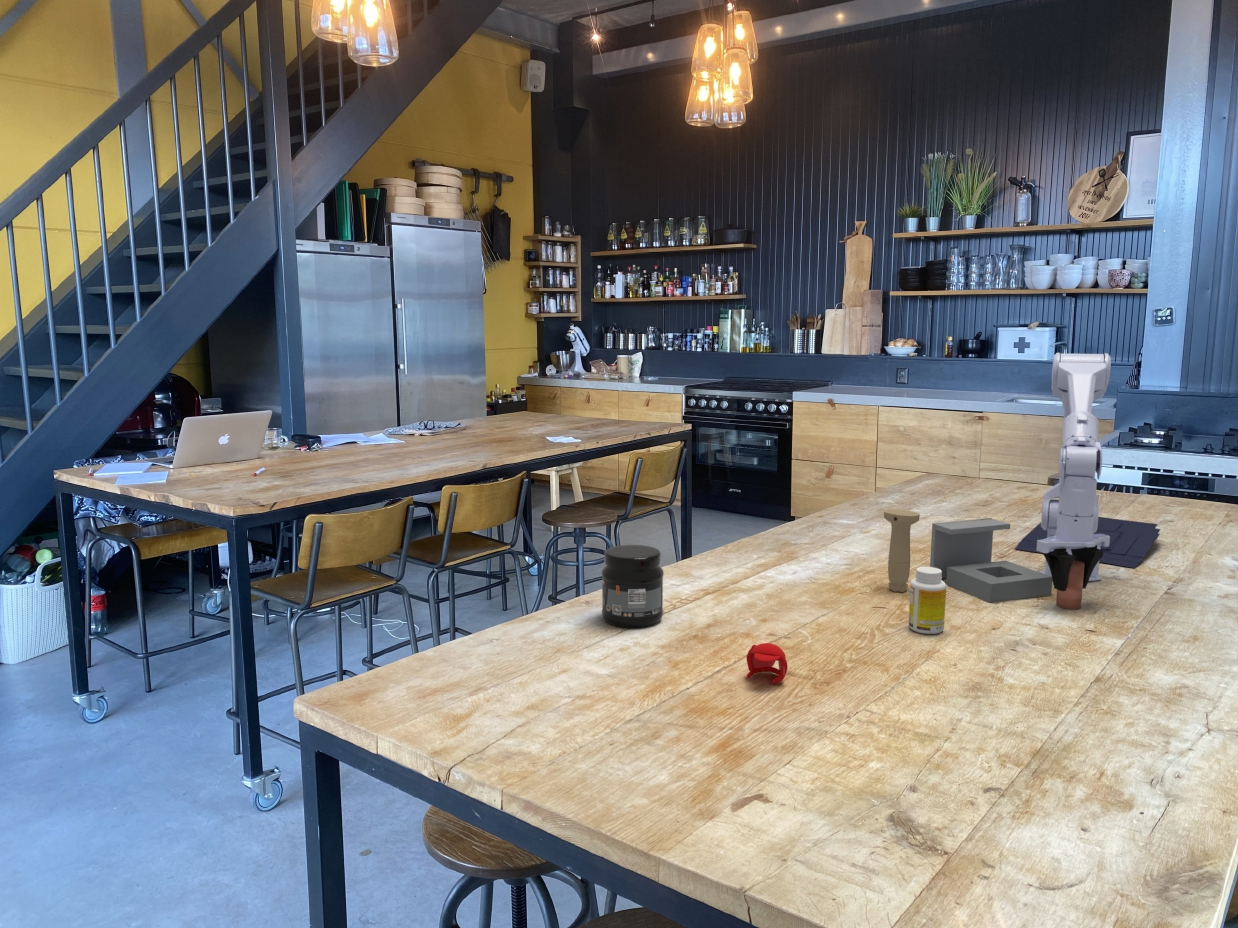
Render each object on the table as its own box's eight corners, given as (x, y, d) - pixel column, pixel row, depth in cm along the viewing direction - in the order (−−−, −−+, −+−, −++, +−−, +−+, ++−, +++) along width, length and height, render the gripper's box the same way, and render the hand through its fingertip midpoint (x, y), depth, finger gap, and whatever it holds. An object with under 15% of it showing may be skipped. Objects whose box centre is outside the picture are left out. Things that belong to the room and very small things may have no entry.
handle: (907, 596, 168) (911, 517, 166) (876, 589, 173) (879, 512, 170) (919, 590, 172) (923, 513, 169) (888, 584, 176) (891, 508, 174)
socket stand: (986, 571, 185) (990, 518, 183) (1051, 594, 169) (1055, 537, 167) (929, 577, 180) (932, 523, 179) (990, 602, 165) (994, 543, 163)
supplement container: (632, 605, 163) (632, 540, 161) (676, 619, 156) (676, 551, 154) (589, 619, 156) (588, 551, 154) (632, 634, 149) (632, 563, 147)
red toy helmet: (743, 669, 134) (744, 633, 133) (781, 670, 134) (782, 634, 133) (749, 690, 126) (750, 652, 126) (789, 690, 126) (790, 652, 125)
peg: (1068, 601, 165) (1071, 558, 164) (1086, 607, 162) (1089, 564, 160) (1050, 603, 164) (1054, 560, 163) (1068, 610, 160) (1072, 566, 159)
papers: (1166, 536, 209) (1167, 521, 208) (1135, 580, 187) (1136, 564, 186) (1053, 521, 224) (1053, 507, 223) (1012, 560, 203) (1012, 544, 202)
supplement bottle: (951, 632, 149) (954, 571, 148) (925, 637, 147) (929, 576, 145) (926, 622, 154) (929, 563, 153) (901, 626, 152) (904, 567, 150)
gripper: (1061, 521, 154) (1055, 598, 156) (1126, 515, 159) (1119, 590, 161) (1029, 513, 161) (1024, 587, 163) (1093, 507, 165) (1087, 579, 168)
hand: (1069, 588), depth 162 cm, fingers closed on peg, 4 cm apart
